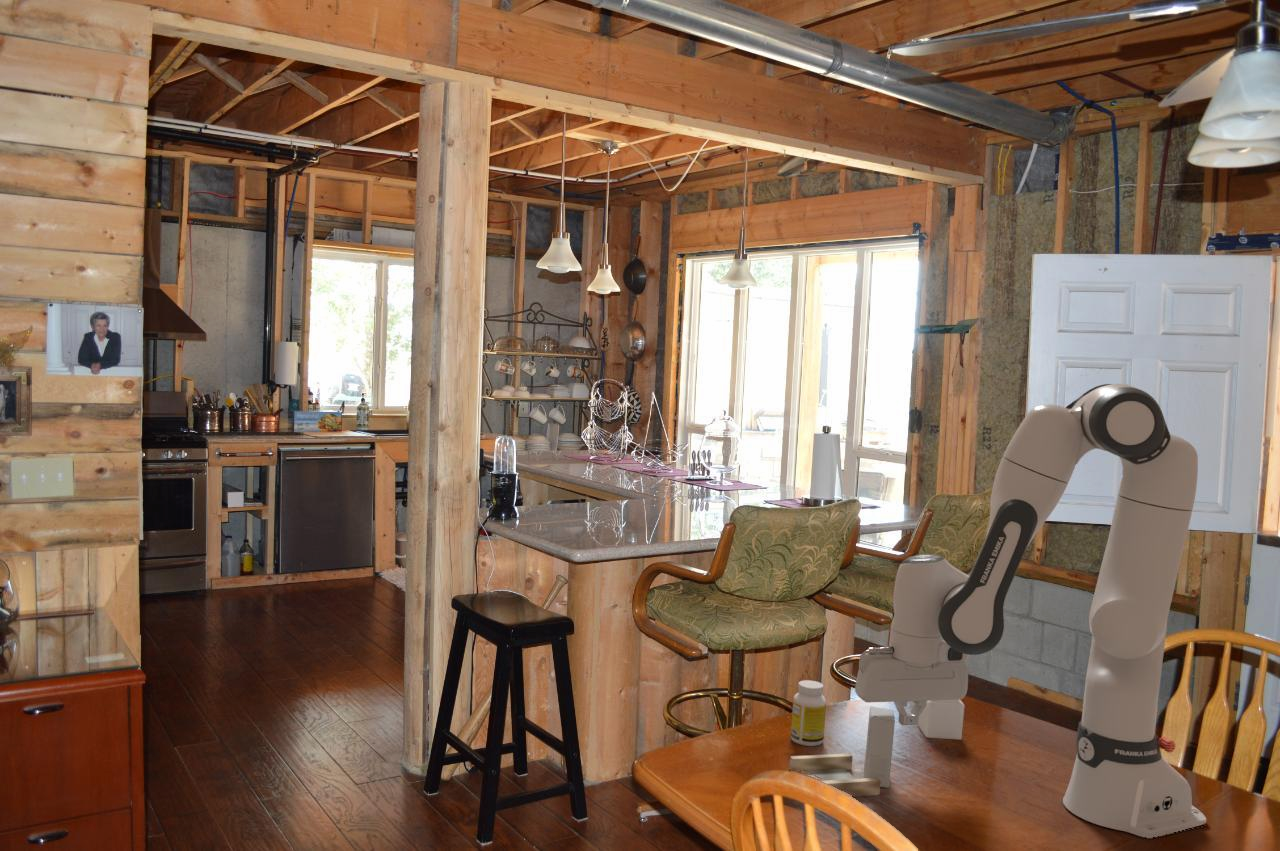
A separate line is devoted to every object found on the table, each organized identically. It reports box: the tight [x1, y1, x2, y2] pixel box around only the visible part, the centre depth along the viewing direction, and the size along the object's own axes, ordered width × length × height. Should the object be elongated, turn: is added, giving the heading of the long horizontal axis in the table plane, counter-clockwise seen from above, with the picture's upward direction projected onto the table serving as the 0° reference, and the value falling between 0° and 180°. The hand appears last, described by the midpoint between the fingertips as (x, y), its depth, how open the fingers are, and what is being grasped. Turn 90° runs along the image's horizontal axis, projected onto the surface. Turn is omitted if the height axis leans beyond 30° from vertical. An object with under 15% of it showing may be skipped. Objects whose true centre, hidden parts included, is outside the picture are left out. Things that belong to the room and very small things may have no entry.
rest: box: [788, 752, 881, 798], centre depth 176 cm, size 12×11×2 cm
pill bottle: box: [790, 679, 827, 747], centre depth 194 cm, size 6×6×11 cm
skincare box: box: [863, 706, 896, 789], centre depth 178 cm, size 6×4×12 cm
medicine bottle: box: [917, 699, 966, 741], centre depth 203 cm, size 7×7×12 cm
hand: (908, 724), depth 179 cm, fingers closed
